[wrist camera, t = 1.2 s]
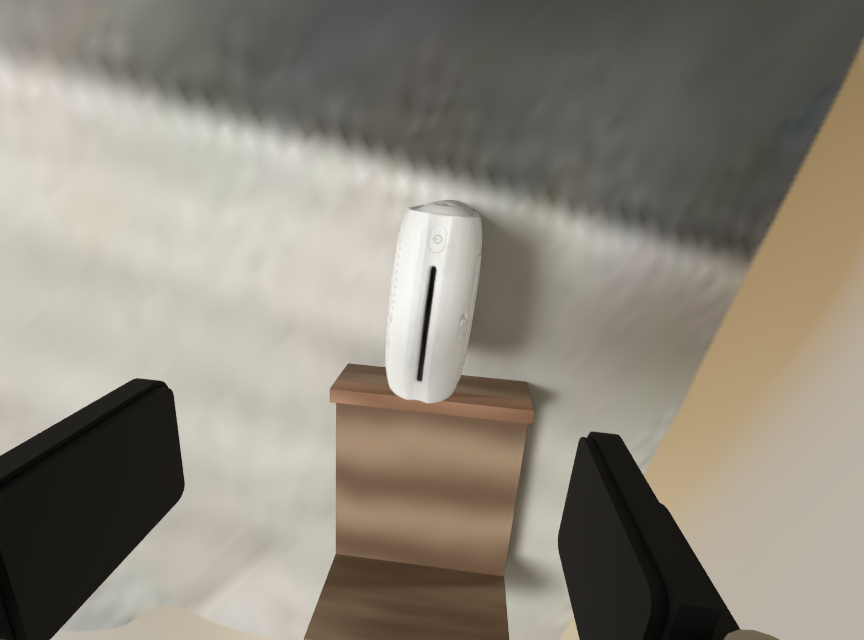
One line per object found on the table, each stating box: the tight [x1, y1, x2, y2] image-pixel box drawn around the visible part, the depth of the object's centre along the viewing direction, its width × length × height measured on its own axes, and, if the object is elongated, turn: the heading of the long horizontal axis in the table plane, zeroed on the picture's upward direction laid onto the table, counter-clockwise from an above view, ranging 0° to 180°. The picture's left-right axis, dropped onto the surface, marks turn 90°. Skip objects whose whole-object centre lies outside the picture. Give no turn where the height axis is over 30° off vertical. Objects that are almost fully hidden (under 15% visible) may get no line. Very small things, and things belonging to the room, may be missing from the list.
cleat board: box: [304, 364, 534, 640], centre depth 31 cm, size 18×14×10 cm
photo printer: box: [385, 200, 482, 404], centre depth 25 cm, size 10×4×12 cm, turn 173°
